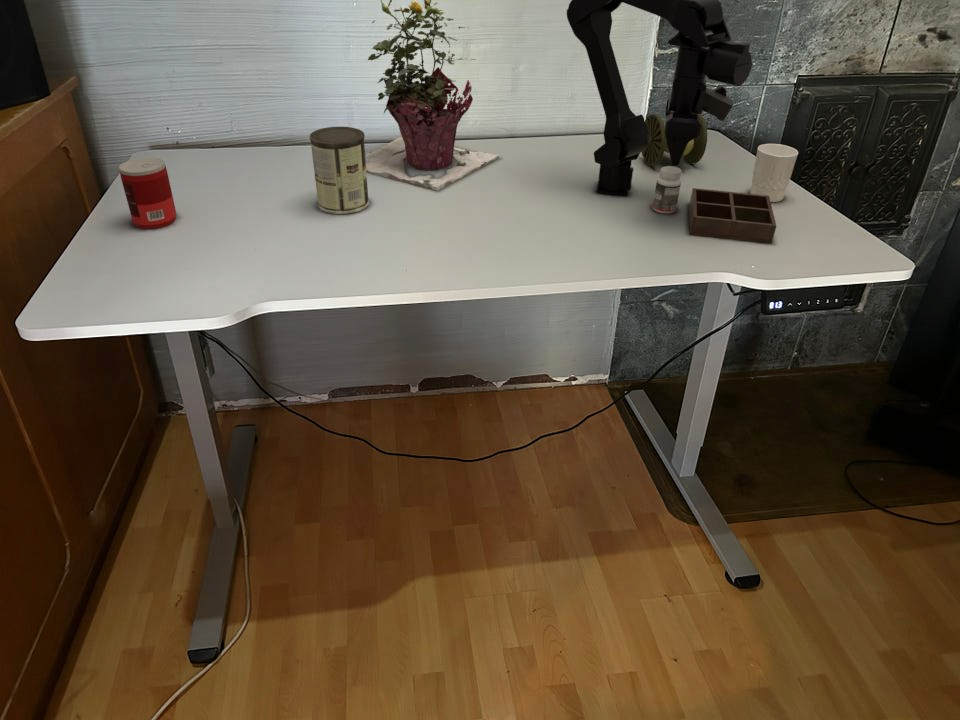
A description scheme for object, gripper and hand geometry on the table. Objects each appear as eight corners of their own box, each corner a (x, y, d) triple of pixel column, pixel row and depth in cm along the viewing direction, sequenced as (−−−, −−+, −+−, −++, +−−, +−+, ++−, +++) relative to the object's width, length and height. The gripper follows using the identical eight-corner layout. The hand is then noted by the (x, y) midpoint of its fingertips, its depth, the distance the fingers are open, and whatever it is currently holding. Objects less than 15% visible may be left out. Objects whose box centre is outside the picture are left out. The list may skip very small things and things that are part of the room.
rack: (689, 234, 141) (693, 216, 139) (689, 204, 153) (692, 187, 151) (771, 243, 138) (776, 225, 136) (764, 212, 150) (769, 195, 148)
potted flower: (498, 158, 173) (504, -8, 154) (437, 190, 156) (435, 8, 136) (407, 136, 185) (401, -21, 165) (341, 164, 168) (325, -7, 148)
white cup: (788, 205, 154) (801, 158, 148) (748, 201, 155) (760, 154, 149) (783, 191, 160) (795, 145, 154) (745, 187, 161) (756, 142, 156)
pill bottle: (649, 204, 152) (655, 165, 148) (671, 204, 153) (678, 164, 148) (655, 214, 149) (662, 173, 144) (678, 213, 149) (686, 173, 144)
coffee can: (336, 191, 155) (329, 123, 147) (378, 200, 152) (374, 131, 144) (306, 208, 147) (298, 137, 139) (350, 218, 144) (344, 146, 136)
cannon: (615, 139, 186) (621, 93, 180) (659, 137, 189) (666, 91, 182) (657, 175, 166) (665, 124, 160) (706, 172, 169) (716, 121, 162)
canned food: (186, 215, 143) (173, 160, 137) (158, 232, 137) (144, 174, 131) (152, 209, 145) (139, 154, 139) (124, 226, 139) (108, 168, 133)
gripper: (739, 91, 127) (719, 179, 136) (732, 65, 142) (715, 146, 151) (672, 86, 129) (657, 172, 138) (673, 61, 144) (659, 140, 153)
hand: (674, 157), depth 145 cm, fingers open, 9 cm apart
